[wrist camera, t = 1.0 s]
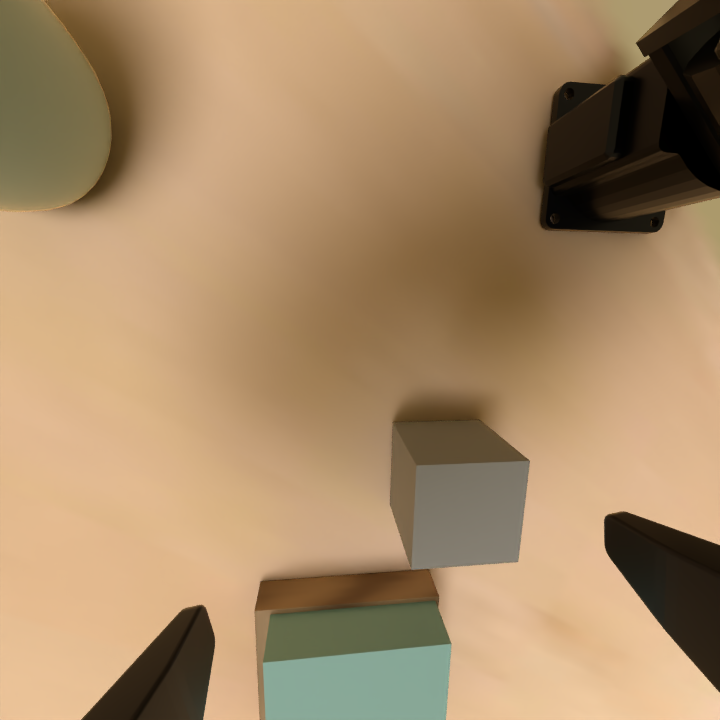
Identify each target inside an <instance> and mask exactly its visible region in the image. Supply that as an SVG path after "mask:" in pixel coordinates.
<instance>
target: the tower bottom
mask: <svg viewBox="0 0 720 720" xmlns="http://www.w3.org/2000/svg"><path fill="white" fill-rule="evenodd" d="M424 601H436V604H437V607H438V603H439V595H438V592H437V590H436V587H435V585H434V582H433V580H432V577H431V574H430V572H429V569H425V570H412V571H398V572H384V573H370V574H357V575H343V576H329V577H316V578H302V579H288V580H274V581H261V582H260V587H259V592H258V597H257V602H256V607H255V630H256V651H257V673H258V694H259V715H260V720H266V718H265V697H264V676H263V659H264V652H265V646H266V639H267V633H268V626H269V620H270V615H272V614H283V613H295V612H307V611H319V610H330V609H342V608H354V607H365V606H377V605H389V604H400V603H412V602H424Z"/></svg>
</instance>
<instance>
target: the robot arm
mask: <svg viewBox="0 0 720 720" xmlns="http://www.w3.org/2000/svg"><path fill="white" fill-rule="evenodd" d="M636 44H637V46H638V47H639V49H640V50H641V52H642V54H643V56H644V57H646V56H647V55H649V57H650V58H649V59H647V60H646V61H645V62H643V63H642V64H640V65H639V66H637V67H636V68H635V69H633V70H632V71H630V72H629V73H628V74H626V75H620V76H618V77H617V78H615V79H614V80H613V81H611V82H610V83H608V84H607V85H601V84H590V83H578V82H567V83H565V84H564V85H562V86H561V87H560V88H559V89H558V90H557V91H556V93H555V95H554V101H553V110H552V119H551V126H550V127H549V130H548V139H547V148H546V158H545V167H544V177H543V182H544V195H543V204H542V213H541V224H542V226H543V228H544V229H546V230H556V231H585V232H613V233H642V234H647V233H653V232H657V231H658V230H660V229H661V227H662V225H663V222H664V216H665V210H668V209H673V208H677V207H681V206H686V205H690V204H694V203H699V202H703V201H707V200H712V199H716V198H720V0H679V1H677V2H676V3H675V4H674V6H673V7H671V8H670V9H669V10H668V11H667V12H666V13H665V14H664V15H663V16H662V18H660V19H659V20H658V21H657V22H656V23H655V24H654V25H653V26H652V27H651V28H650V29H649V30H648V31H647V32H646V33H645V34H644V35H643V36H642V37H641V38H640V39H639V40H638V41H637V42H636ZM564 92H565V93H567V95H568V98H569V99H568V100H567V99H566V98H565V97H564ZM551 215H553V216H554V218H555V221H554V223H552V222H551V220H550V218H551ZM650 221H652V225H650ZM604 543H605V549H606V552H607V554H608V556H609V557H610V559H611V560H612V561H613V563H614V564H615V565H616V567H617V568H618V569H619V571H620V572H621V573H622V575H623V576H624V577H625V579H626V580H627V581H628V583H629V584H630V585H631V586H632V588H633V589H634V590H635V592H636V593H637V594H638V596H639V597H640V598H641V600H642V601H643V602H644V604H645V605H646V606H647V608H648V609H649V610H650V612H651V613H652V614H653V616H654V617H655V618H656V619H657V621H658V622H659V623H660V624H661V626H662V627H663V628H664V629H665V631H666V632H667V633H668V634H669V635H670V636H671V638H672V639H673V640H674V641H675V642H676V643H677V645H678V646H679V647H680V648H681V649H682V650H683V651H684V653H685V654H686V655H687V656H688V657H689V658H690V659H691V661H692V662H693V663H694V664H695V665H696V666H697V667H698V668H699V670H700V671H701V672H702V673H703V674H704V675H705V676H706V678H707V679H708V680H709V681H710V682H711V683H712V684H713V686H714V687H715V688H716V689H717V690H718V691H719V692H720V545H718V544H715V543H712V542H709V541H707V540H704V539H701V538H698V537H695V536H693V535H690V534H687V533H684V532H681V531H679V530H676V529H673V528H670V527H667V526H664V525H662V524H659V523H656V522H653V521H650V520H648V519H645V518H642V517H639V516H636V515H634V514H631V513H628V512H617V513H612V514H608V515H607V516H606V517H605V519H604ZM214 648H215V637H214V632H213V629H212V626H211V623H210V619H209V616H208V613H207V610H206V608H205V607H204V606H203V605H197V606H193V607H188V608H185V609H183V610H182V611H181V612H179V614H178V615H177V616H176V617H175V618H174V619H173V620H172V621H171V622H170V623H169V624H168V626H167V627H166V628H165V629H164V630H163V631H162V632H161V633H160V634H159V635H158V636H157V638H156V639H155V640H154V641H153V642H152V643H151V644H150V645H149V646H148V647H147V648H146V650H145V651H144V652H143V653H142V654H141V655H140V656H139V657H138V658H137V659H136V660H135V662H134V663H133V664H132V665H131V666H130V667H129V668H128V669H127V670H126V671H125V672H124V674H123V675H122V676H121V677H120V678H119V679H118V680H117V681H116V682H115V683H114V685H113V686H112V687H111V688H110V689H109V690H108V691H107V692H106V693H105V694H104V695H103V697H102V698H101V699H100V700H99V701H98V702H97V703H96V704H95V705H94V706H93V707H92V709H91V710H90V711H89V712H88V713H87V714H86V715H85V716H84V717H83V718H82V719H81V720H203V717H204V710H205V704H206V698H207V692H208V686H209V680H210V673H211V667H212V661H213V655H214Z"/></svg>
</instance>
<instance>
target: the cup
mask: <svg viewBox="0 0 720 720" xmlns="http://www.w3.org/2000/svg"><path fill="white" fill-rule="evenodd" d="M111 143H112V125H111V116H110V110H109V105H108V101H107V98H106V96H105V93H104V91H103V88H102V86H101V84H100V81H99V79H98V76H97V74H96V72H95V70H94V69H93V67H92V66H91V64H90V62H89V61H88V59H87V58H86V56H85V55H84V53H83V52H82V50H81V48H80V47H79V45H78V44H77V42H76V41H75V39H74V38H73V37H72V35H71V34H70V33H69V31H68V30H67V28H66V27H65V26H64V24H63V23H62V22H61V20H60V19H59V18H58V17H57V15H56V14H55V13H54V12H53V11H52V9H51V8H50V7H49V6H48V4H47V3H46V2H45V1H44V0H0V211H6V212H35V211H48V210H53V209H57V208H60V207H64V206H67V205H70V204H72V203H74V202H75V201H77V200H79V199H80V198H82V197H84V196H85V195H86V194H87V193H88V192H89V191H90V190H91V189H92V188H93V187H94V186H95V185H96V183H97V182H98V180H99V179H100V177H101V175H102V174H103V172H104V169H105V167H106V164H107V161H108V159H109V154H110V148H111Z"/></svg>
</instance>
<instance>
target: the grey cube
mask: <svg viewBox="0 0 720 720" xmlns="http://www.w3.org/2000/svg"><path fill="white" fill-rule="evenodd" d="M529 464H530V461H529V460H528V459H527V458H526V457H524V456H523V455H522V454H521V453H520V452H518V451H517V450H516V449H515V448H513V447H512V446H511V445H510V444H509V443H507V442H506V441H505V440H504V439H502V438H501V437H500V436H499V435H498V434H496V433H495V432H494V431H493V430H491V429H490V428H489V427H488V426H487V425H485V424H484V423H483V422H482V421H480V420H455V421H420V422H393V429H392V459H391V489H390V506H391V509H392V512H393V515H394V518H395V521H396V524H397V527H398V530H399V533H400V536H401V539H402V543H403V546H404V549H405V552H406V555H407V558H408V561H409V564H410V567H411V570H417V569H431V568H444V567H457V566H470V565H484V564H497V563H510V562H518V559H519V550H520V542H521V533H522V524H523V516H524V507H525V498H526V490H527V481H528V472H529Z"/></svg>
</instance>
